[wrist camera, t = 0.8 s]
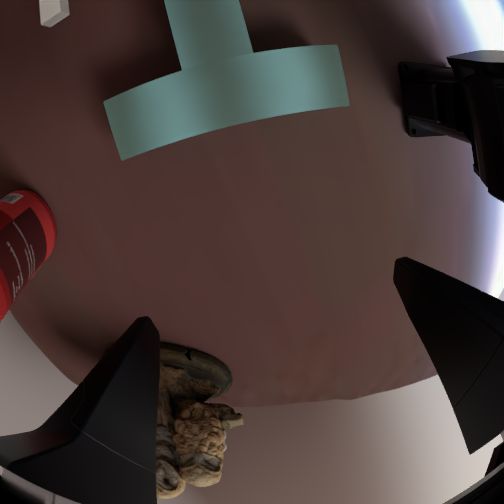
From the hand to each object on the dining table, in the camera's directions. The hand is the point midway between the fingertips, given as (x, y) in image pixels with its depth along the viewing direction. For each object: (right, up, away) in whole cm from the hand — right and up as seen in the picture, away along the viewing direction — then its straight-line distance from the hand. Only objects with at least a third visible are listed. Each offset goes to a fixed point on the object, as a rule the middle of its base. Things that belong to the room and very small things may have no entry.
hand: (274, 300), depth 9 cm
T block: (-3, +16, +5) cm, 17 cm away
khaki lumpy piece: (-11, -13, +22) cm, 28 cm away
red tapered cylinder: (-22, +4, +11) cm, 25 cm away
